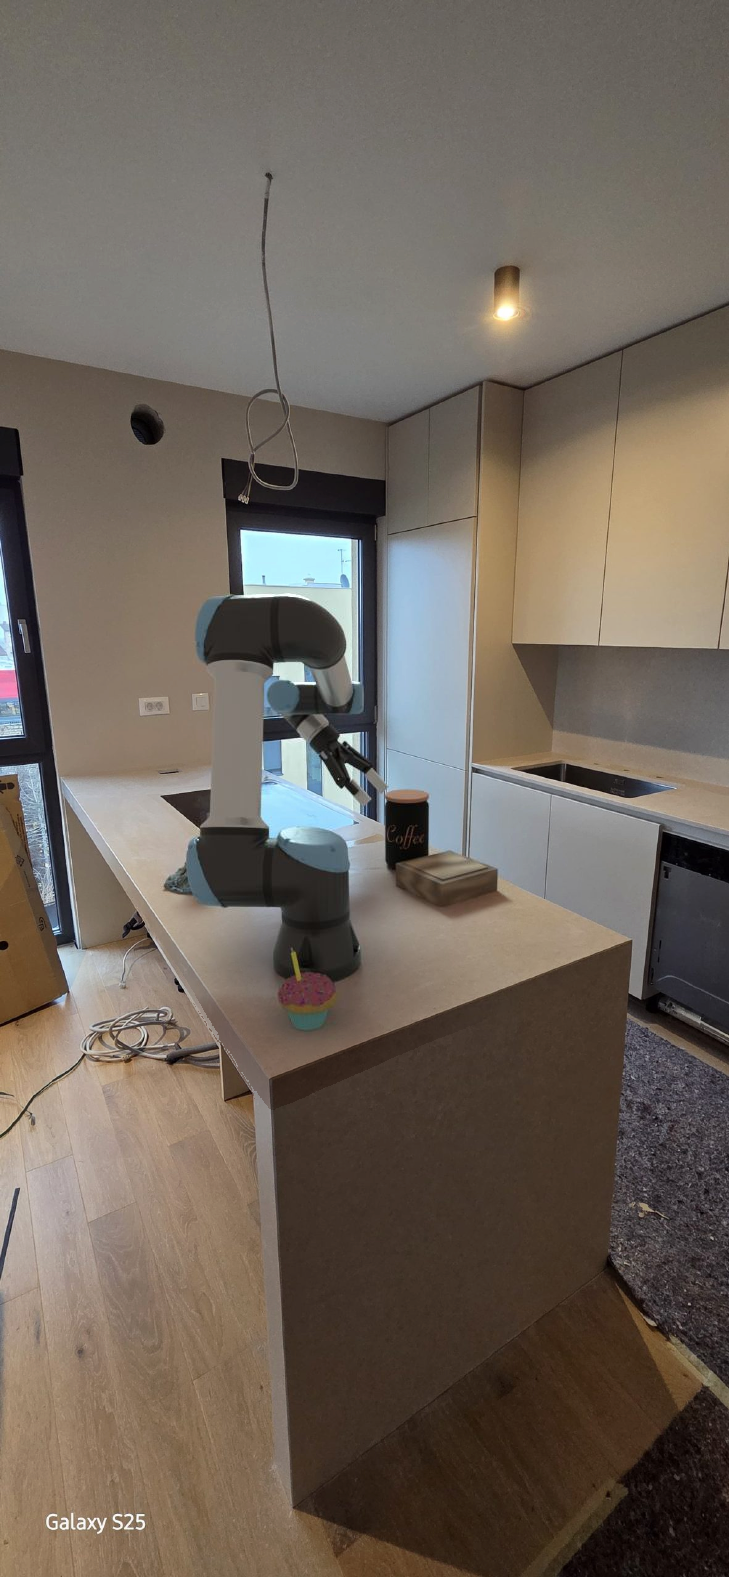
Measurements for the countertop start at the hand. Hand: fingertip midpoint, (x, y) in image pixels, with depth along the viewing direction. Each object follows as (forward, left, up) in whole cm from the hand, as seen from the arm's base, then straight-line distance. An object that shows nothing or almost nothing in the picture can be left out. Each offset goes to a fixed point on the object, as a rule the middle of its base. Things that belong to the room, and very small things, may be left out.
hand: (376, 796), depth 162 cm
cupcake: (-53, +49, -17) cm, 74 cm away
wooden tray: (-24, -2, -17) cm, 29 cm away
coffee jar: (-7, -4, -17) cm, 19 cm away
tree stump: (+13, +39, -17) cm, 45 cm away
